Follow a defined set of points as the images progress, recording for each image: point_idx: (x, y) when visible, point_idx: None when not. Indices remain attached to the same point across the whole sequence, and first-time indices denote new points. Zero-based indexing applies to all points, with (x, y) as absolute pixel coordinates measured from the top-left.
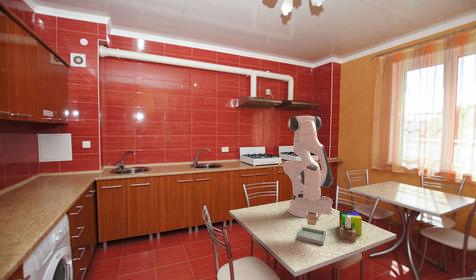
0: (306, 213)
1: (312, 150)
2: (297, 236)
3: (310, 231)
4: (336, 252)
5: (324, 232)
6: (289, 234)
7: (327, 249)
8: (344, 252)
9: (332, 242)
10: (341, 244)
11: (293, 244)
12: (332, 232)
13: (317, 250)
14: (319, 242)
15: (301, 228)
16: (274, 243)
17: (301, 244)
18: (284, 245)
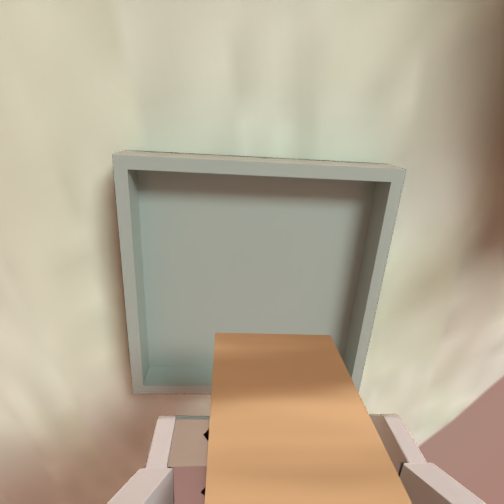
0: (148, 502)
1: None
2: (136, 387)
3: (227, 175)
4: (429, 408)
5: (389, 211)
6: (43, 310)
7: (374, 399)
8: (482, 387)
9: (428, 288)
10: (495, 289)
11: (137, 437)
12: (475, 49)
13: None
14: None
15: (122, 221)
16: (9, 478)
17: (191, 415)
18: (84, 471)
